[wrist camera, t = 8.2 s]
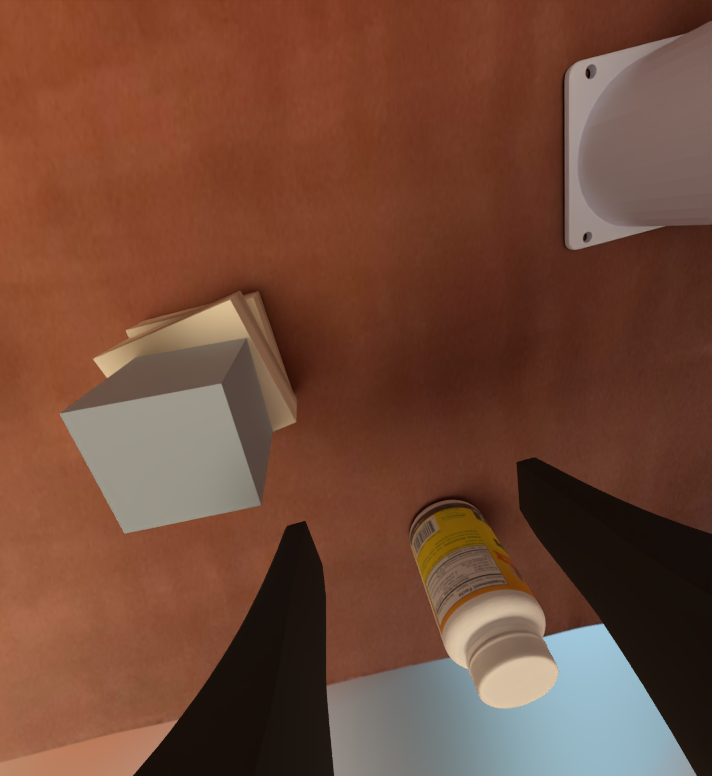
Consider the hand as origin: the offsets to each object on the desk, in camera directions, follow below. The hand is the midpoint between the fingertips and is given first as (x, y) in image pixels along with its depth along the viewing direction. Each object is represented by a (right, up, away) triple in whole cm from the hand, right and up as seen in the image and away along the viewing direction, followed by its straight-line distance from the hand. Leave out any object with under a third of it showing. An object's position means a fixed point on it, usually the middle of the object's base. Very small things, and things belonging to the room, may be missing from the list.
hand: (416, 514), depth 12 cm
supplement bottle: (+4, -6, +15) cm, 16 cm away
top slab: (-9, +5, +6) cm, 12 cm away
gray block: (-8, +4, +4) cm, 10 cm away
